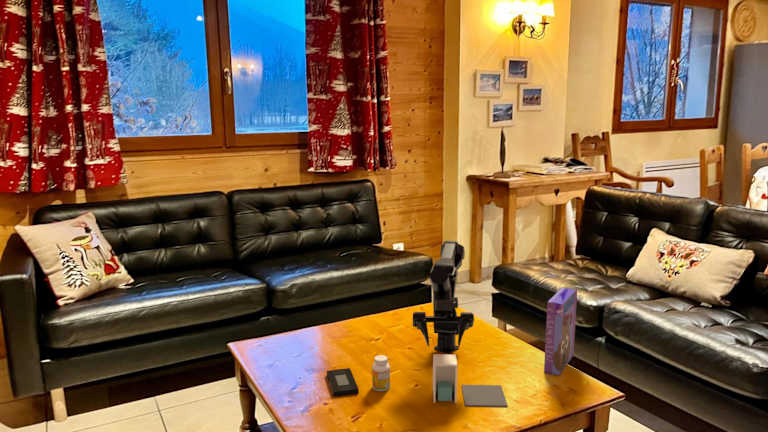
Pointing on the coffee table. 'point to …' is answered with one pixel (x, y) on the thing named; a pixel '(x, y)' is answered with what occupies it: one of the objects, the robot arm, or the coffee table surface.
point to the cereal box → (560, 330)
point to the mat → (484, 395)
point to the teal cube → (444, 391)
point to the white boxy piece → (444, 372)
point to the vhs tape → (342, 382)
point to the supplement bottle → (381, 373)
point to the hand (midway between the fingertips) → (443, 345)
